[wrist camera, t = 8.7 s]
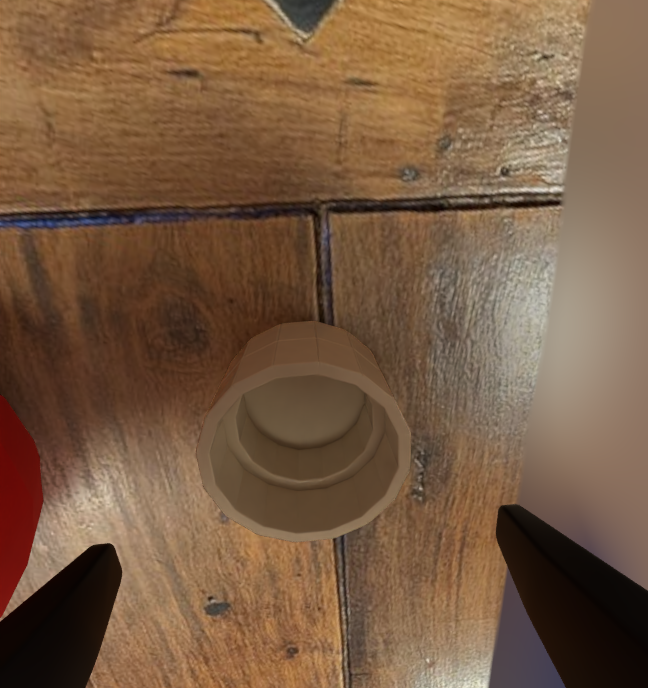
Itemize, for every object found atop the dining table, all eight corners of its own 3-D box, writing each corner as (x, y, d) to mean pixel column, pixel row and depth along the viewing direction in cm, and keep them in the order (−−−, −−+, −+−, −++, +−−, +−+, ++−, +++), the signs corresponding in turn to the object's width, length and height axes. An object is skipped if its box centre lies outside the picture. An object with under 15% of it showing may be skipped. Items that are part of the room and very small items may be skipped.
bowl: (380, 310, 14) (412, 353, 10) (382, 449, 17) (410, 531, 12) (214, 324, 14) (176, 373, 10) (239, 462, 16) (216, 551, 12)
